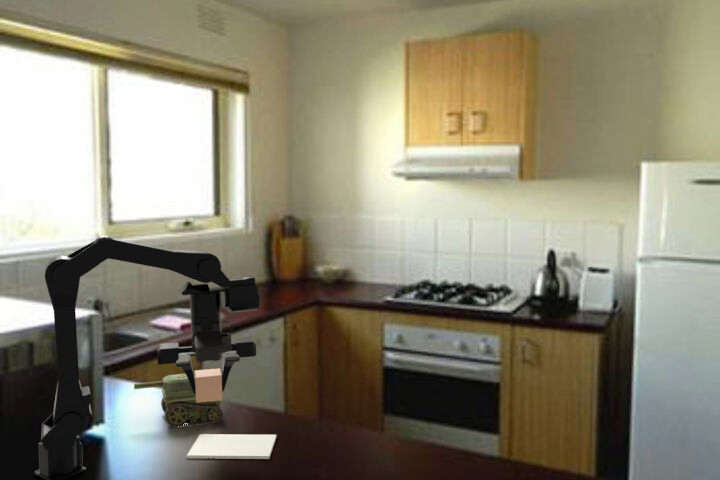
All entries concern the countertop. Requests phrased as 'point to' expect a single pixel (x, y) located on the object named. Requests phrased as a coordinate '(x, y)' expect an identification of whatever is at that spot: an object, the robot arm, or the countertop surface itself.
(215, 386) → the block
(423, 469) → the countertop surface
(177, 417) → the toy
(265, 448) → the board
